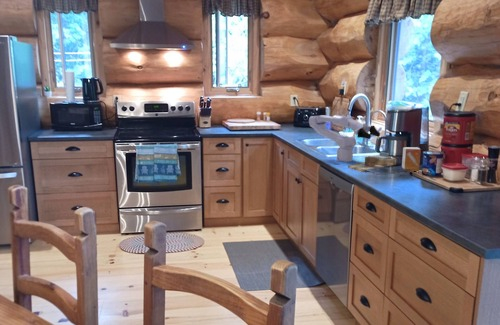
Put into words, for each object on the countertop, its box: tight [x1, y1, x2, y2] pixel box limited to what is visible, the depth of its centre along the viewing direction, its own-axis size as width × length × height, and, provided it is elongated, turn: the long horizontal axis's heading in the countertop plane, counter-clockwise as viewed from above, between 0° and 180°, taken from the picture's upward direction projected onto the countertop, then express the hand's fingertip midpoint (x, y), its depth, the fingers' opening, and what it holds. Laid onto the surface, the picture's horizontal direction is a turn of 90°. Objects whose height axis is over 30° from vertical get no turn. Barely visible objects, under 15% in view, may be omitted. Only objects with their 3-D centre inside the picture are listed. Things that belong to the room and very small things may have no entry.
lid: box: [371, 151, 392, 159], centre depth 261 cm, size 8×7×3 cm
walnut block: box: [364, 155, 375, 167], centre depth 257 cm, size 4×4×6 cm
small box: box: [401, 146, 422, 173], centre depth 249 cm, size 8×6×13 cm
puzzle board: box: [347, 155, 397, 173], centre depth 258 cm, size 13×25×5 cm, turn 121°
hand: (374, 136), depth 253 cm, fingers open, 7 cm apart
